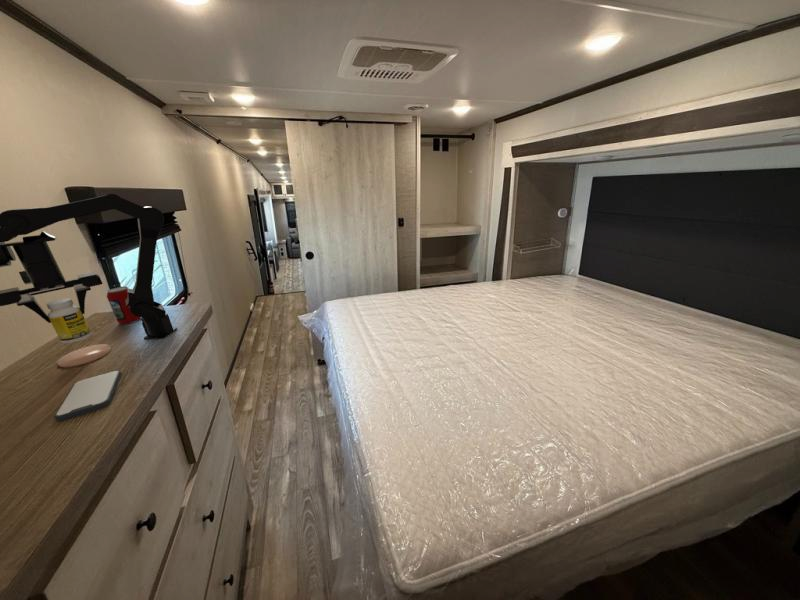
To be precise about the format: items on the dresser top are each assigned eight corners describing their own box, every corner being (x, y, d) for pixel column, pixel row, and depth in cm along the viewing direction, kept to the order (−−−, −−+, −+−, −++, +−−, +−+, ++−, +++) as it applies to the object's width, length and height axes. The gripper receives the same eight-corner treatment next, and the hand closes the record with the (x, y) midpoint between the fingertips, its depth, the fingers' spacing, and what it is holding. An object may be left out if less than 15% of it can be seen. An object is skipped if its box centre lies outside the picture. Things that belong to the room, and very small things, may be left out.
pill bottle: (77, 343, 84) (57, 305, 79) (54, 344, 84) (34, 306, 80) (98, 332, 89) (81, 296, 85) (77, 333, 90) (59, 297, 86)
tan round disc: (121, 345, 94) (120, 343, 93) (86, 366, 83) (85, 363, 83) (85, 347, 94) (84, 345, 94) (46, 368, 84) (45, 365, 83)
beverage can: (117, 321, 111) (103, 290, 107) (140, 315, 116) (128, 284, 111) (120, 327, 107) (105, 293, 102) (144, 320, 111) (131, 288, 107)
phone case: (77, 386, 76) (54, 425, 63) (74, 381, 75) (50, 418, 63) (123, 374, 80) (111, 407, 67) (121, 368, 80) (108, 401, 67)
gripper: (84, 250, 90) (106, 300, 96) (-18, 266, 77) (15, 323, 83) (90, 254, 83) (113, 308, 89) (-22, 272, 70) (15, 334, 76)
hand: (67, 317), depth 84 cm, fingers closed on pill bottle, 6 cm apart
